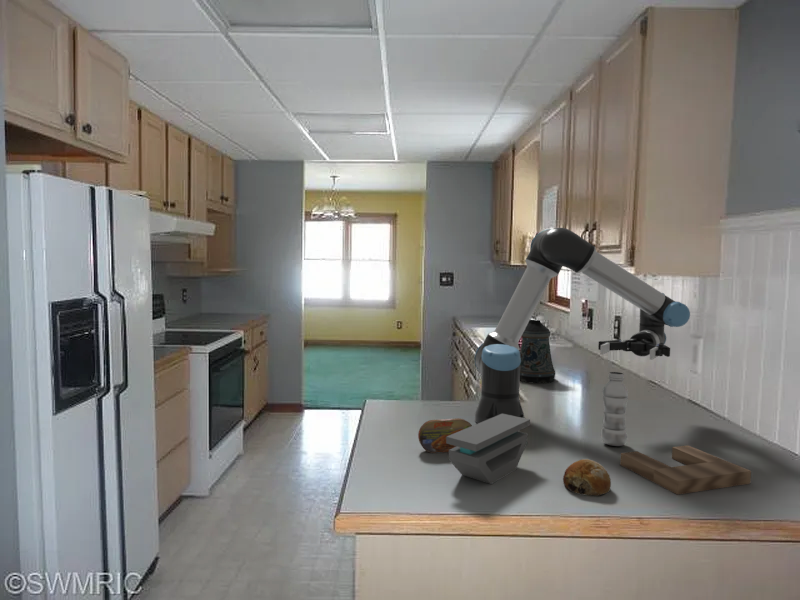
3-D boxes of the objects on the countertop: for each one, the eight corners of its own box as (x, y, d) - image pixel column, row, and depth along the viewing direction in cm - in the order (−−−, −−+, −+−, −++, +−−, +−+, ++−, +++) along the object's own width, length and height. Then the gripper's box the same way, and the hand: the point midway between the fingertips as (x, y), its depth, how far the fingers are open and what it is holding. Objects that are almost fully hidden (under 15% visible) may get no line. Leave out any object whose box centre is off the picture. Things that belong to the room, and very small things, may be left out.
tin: (419, 454, 143) (420, 422, 143) (416, 449, 146) (417, 418, 146) (475, 450, 146) (475, 419, 146) (471, 446, 149) (471, 416, 149)
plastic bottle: (627, 450, 148) (630, 376, 146) (600, 447, 150) (603, 374, 149) (626, 442, 154) (629, 371, 152) (600, 439, 156) (603, 369, 155)
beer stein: (559, 383, 227) (561, 323, 225) (512, 383, 227) (514, 322, 225) (549, 375, 243) (551, 318, 242) (505, 374, 244) (506, 318, 242)
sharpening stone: (501, 454, 144) (502, 413, 143) (528, 462, 139) (530, 419, 138) (445, 484, 124) (446, 436, 124) (475, 493, 119) (476, 444, 119)
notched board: (677, 494, 120) (678, 481, 120) (620, 465, 137) (620, 453, 137) (750, 483, 127) (751, 470, 126) (687, 456, 144) (687, 445, 143)
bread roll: (612, 511, 120) (627, 477, 120) (576, 496, 117) (591, 461, 117) (584, 492, 129) (598, 461, 130) (550, 478, 126) (564, 446, 127)
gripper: (687, 359, 169) (672, 370, 152) (603, 350, 184) (582, 360, 167) (688, 334, 168) (673, 343, 151) (604, 328, 183) (582, 335, 166)
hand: (625, 352), depth 159 cm, fingers open, 13 cm apart
